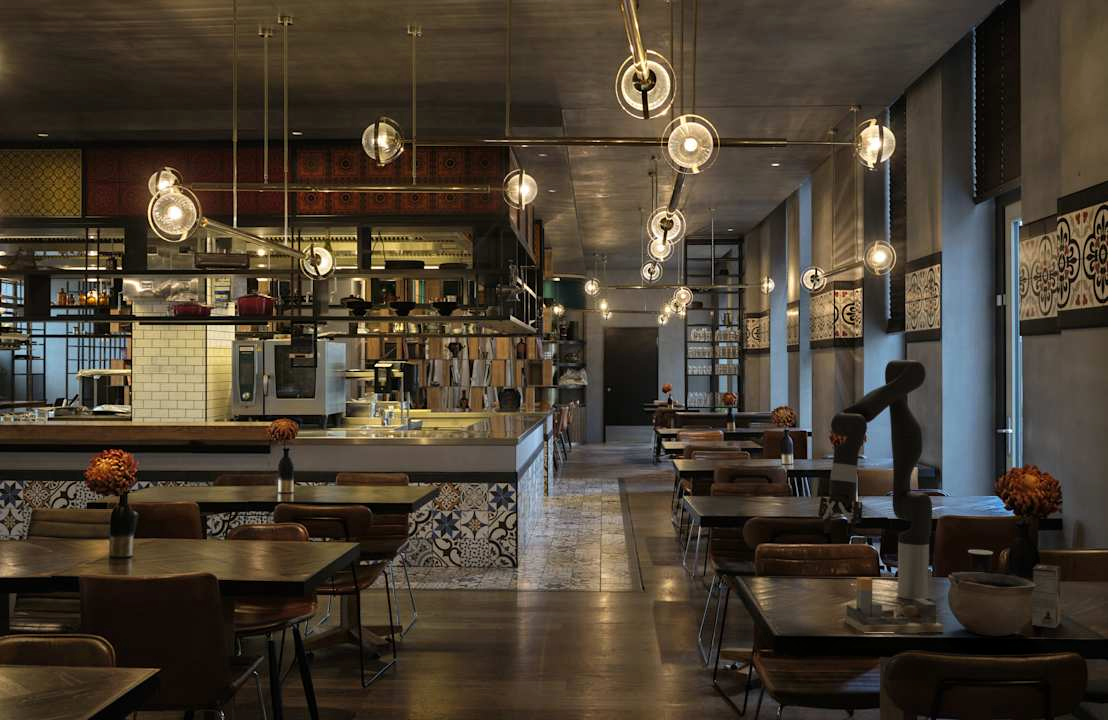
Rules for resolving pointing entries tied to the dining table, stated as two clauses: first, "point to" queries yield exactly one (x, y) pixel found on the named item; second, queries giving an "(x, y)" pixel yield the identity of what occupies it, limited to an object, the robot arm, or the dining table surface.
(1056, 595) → the coffee box
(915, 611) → the walnut
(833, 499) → the robot arm
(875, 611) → the lever
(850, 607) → the base
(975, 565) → the dixie cup
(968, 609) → the ceramic bowl
